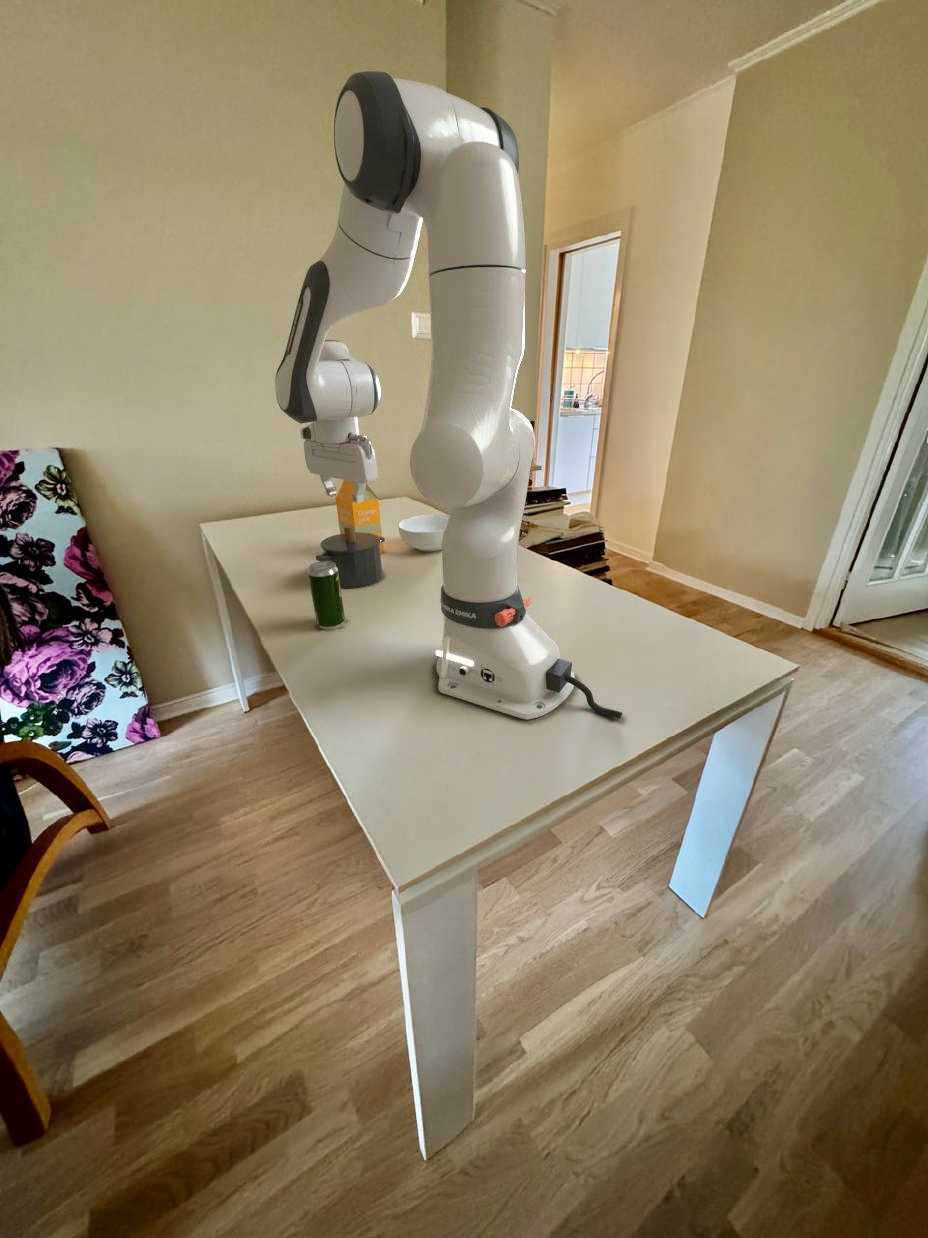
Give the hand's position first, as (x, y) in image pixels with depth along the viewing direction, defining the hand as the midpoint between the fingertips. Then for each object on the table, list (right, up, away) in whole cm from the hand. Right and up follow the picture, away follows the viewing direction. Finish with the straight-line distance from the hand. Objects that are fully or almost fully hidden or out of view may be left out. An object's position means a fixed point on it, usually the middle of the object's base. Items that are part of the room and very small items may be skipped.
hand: (344, 498), depth 105 cm
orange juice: (-1, -8, +25) cm, 26 cm away
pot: (0, -17, +9) cm, 19 cm away
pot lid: (0, -9, +5) cm, 10 cm away
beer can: (0, -28, -12) cm, 30 cm away
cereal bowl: (+17, -7, +28) cm, 33 cm away
